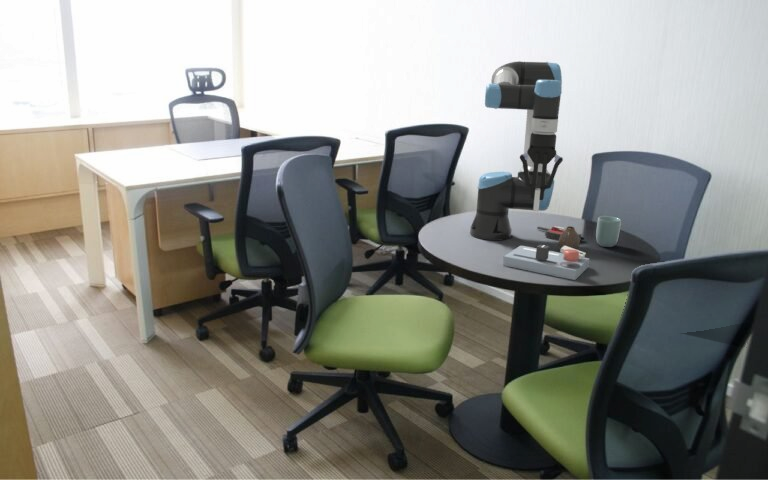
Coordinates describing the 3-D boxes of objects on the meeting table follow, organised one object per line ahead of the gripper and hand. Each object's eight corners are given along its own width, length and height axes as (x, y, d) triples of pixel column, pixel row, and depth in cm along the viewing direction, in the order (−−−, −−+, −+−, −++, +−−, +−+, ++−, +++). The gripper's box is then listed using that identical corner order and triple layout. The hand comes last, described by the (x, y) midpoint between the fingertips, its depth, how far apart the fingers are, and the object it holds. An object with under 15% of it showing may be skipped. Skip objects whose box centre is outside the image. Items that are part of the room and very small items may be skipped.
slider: (535, 259, 199) (536, 246, 198) (538, 256, 201) (540, 244, 200) (544, 260, 197) (546, 248, 196) (547, 258, 200) (549, 245, 199)
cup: (618, 249, 224) (622, 222, 221) (595, 247, 225) (599, 220, 222) (615, 243, 231) (619, 216, 228) (593, 241, 232) (596, 215, 230)
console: (502, 265, 203) (504, 252, 202) (519, 253, 215) (520, 241, 214) (574, 280, 191) (576, 266, 190) (588, 267, 204) (589, 254, 202)
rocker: (559, 251, 202) (561, 248, 201) (563, 248, 205) (564, 245, 205) (581, 259, 199) (582, 255, 198) (584, 256, 202) (586, 252, 201)
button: (561, 259, 194) (562, 251, 193) (565, 256, 198) (566, 248, 197) (575, 262, 192) (576, 254, 191) (579, 259, 195) (580, 251, 195)
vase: (554, 251, 219) (556, 227, 217) (563, 247, 224) (565, 223, 222) (572, 256, 215) (575, 231, 212) (581, 251, 220) (584, 227, 217)
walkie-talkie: (587, 241, 234) (538, 230, 247) (588, 229, 233) (539, 219, 246) (576, 245, 228) (526, 234, 241) (577, 233, 227) (527, 223, 240)
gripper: (520, 132, 188) (513, 210, 195) (565, 135, 185) (557, 214, 191) (522, 130, 195) (515, 205, 201) (566, 133, 192) (558, 209, 198)
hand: (535, 209), depth 196 cm, fingers closed
